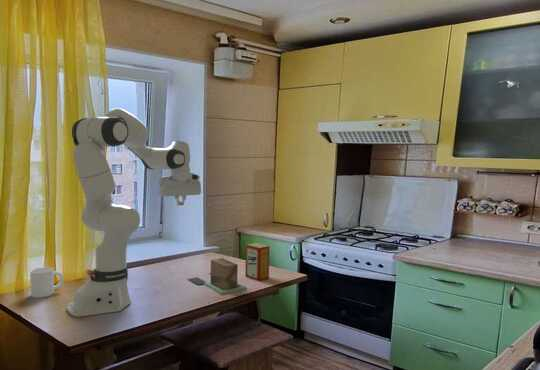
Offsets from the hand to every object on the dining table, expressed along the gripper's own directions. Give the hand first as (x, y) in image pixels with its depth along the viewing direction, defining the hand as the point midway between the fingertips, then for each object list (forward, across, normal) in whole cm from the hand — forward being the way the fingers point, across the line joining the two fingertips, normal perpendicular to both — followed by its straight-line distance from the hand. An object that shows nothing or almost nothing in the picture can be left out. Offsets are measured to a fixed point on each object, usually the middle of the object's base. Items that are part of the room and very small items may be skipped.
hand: (180, 205), depth 198 cm
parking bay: (+34, +9, -26) cm, 44 cm away
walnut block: (+34, +9, -25) cm, 44 cm away
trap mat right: (+34, +16, -10) cm, 39 cm away
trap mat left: (+34, +2, -13) cm, 37 cm away
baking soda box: (+34, +29, -23) cm, 50 cm away
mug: (+34, -56, +6) cm, 66 cm away
